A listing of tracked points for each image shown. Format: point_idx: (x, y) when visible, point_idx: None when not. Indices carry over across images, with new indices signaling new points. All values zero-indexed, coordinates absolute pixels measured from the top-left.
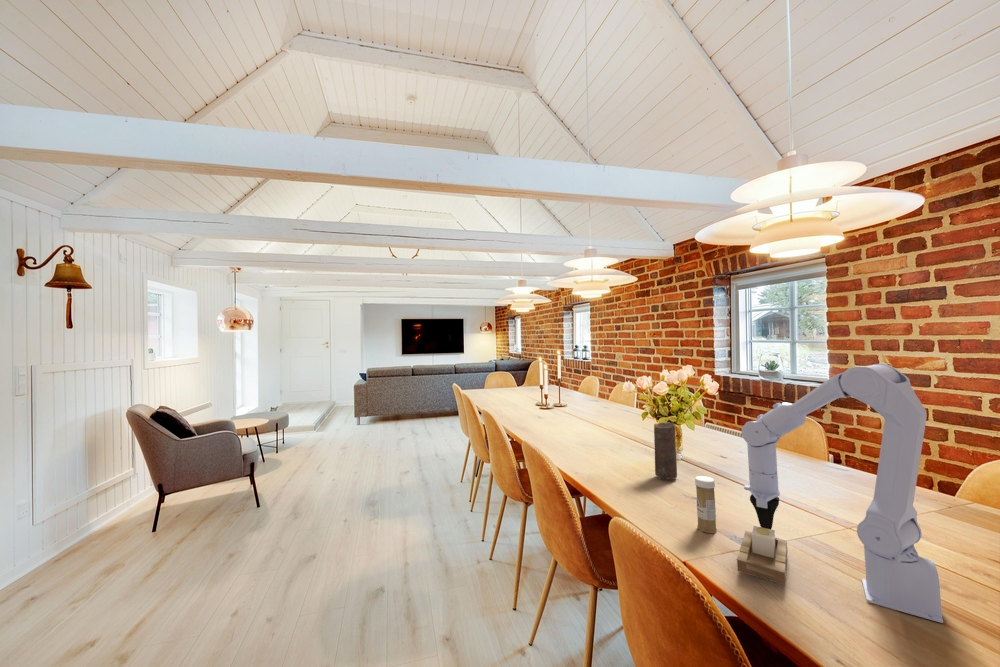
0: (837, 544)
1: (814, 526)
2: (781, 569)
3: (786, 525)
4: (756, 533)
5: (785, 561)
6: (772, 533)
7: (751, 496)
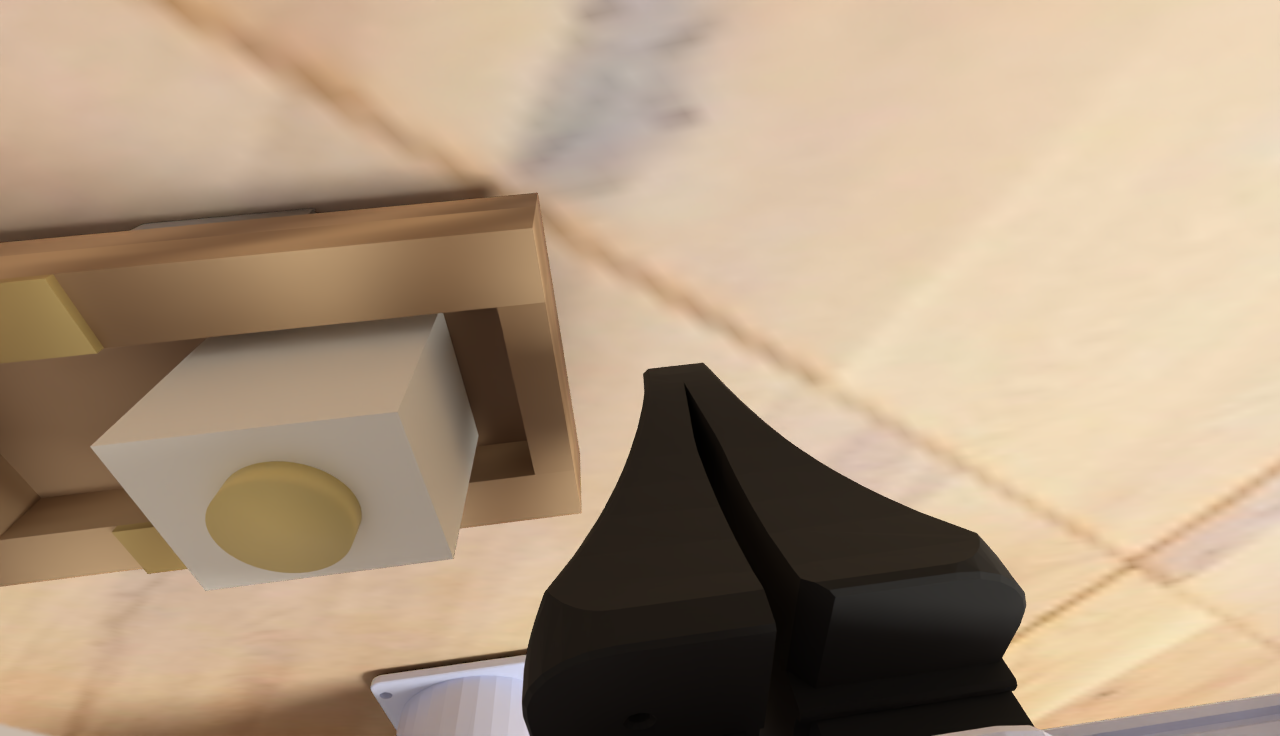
0: None
1: (1118, 465)
2: (22, 569)
3: (1097, 351)
4: (186, 473)
5: None
6: (351, 564)
7: (709, 652)
